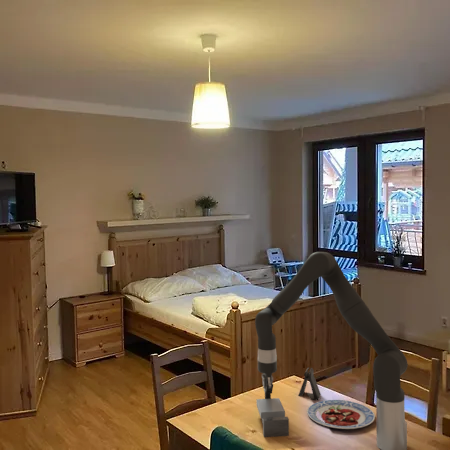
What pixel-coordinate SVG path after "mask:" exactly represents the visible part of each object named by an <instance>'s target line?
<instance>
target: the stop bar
mask: <svg viewBox="0 0 450 450" xmlns="http://www.w3.org/2000/svg"><path fill="white" fill-rule="evenodd" d="M289 420H290V419H289V417H288V416H285V417H270V418H263V423H262V435H263V438H273V437H275V438H276V437H290V429H289V428H290V425H289V424H290V422H289Z"/></svg>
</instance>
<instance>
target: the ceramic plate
mask: <svg viewBox="0 0 450 450" xmlns="http://www.w3.org/2000/svg"><path fill="white" fill-rule="evenodd" d="M306 412H307V415H308V416H307V417H309V418H310V419H311V420H312V421H314V422H315V423H317V424H319V425H321V426H324V427H325V426H326V427H328V428H333V429H340V430H354V429H360V428H365V427H367V426H369V425H371V424H372V423H373V422H374V421H375V418H376V414H375V413H374V411H373V410H372V409H371V408H369V407H368V406H366V405H364V404H362V403H358V402H355V401H351V400H345V399H342V400H341V399H326V400H321V401H317V402H314V403H313V404H311V405H310V406H309V407H308V409H307V411H306ZM317 412H318V413H319V415H320V418H321V419H322V420H321V419H320V418H319V417H318V416H317Z"/></svg>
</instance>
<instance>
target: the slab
mask: <svg viewBox="0 0 450 450" xmlns="http://www.w3.org/2000/svg"><path fill="white" fill-rule="evenodd" d="M255 401H256V408H257V411H258V413H259V417H260V419H261V420H262V419H263V418H270V417H286V411H285V408H284V406H283V404H282V402H281V401H282V400H281V399H280V398H279V397H277V398H276V397H275V398H274V397H273V398H272V397H271V399H265V398H257V399H256V400H255Z"/></svg>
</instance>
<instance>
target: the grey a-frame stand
mask: <svg viewBox="0 0 450 450" xmlns="http://www.w3.org/2000/svg"><path fill="white" fill-rule="evenodd" d="M314 371H315V370H314V369H313V367H307V368H306V370H305V372H304V375H303V376H304V379H303V382H302V385H301V387H300V390H299V392H298V397H303V396H304V393H305V391H306V388H307V383H308V381H309V384H310V388H311V391H312V392H307V393H306V394H307V396H308V398H309V399H310V400H311V401H319V400H320V397H321V395H322V394H321V391H320V389H319V386H318V383H317V381H316V377H315V375H314Z"/></svg>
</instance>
